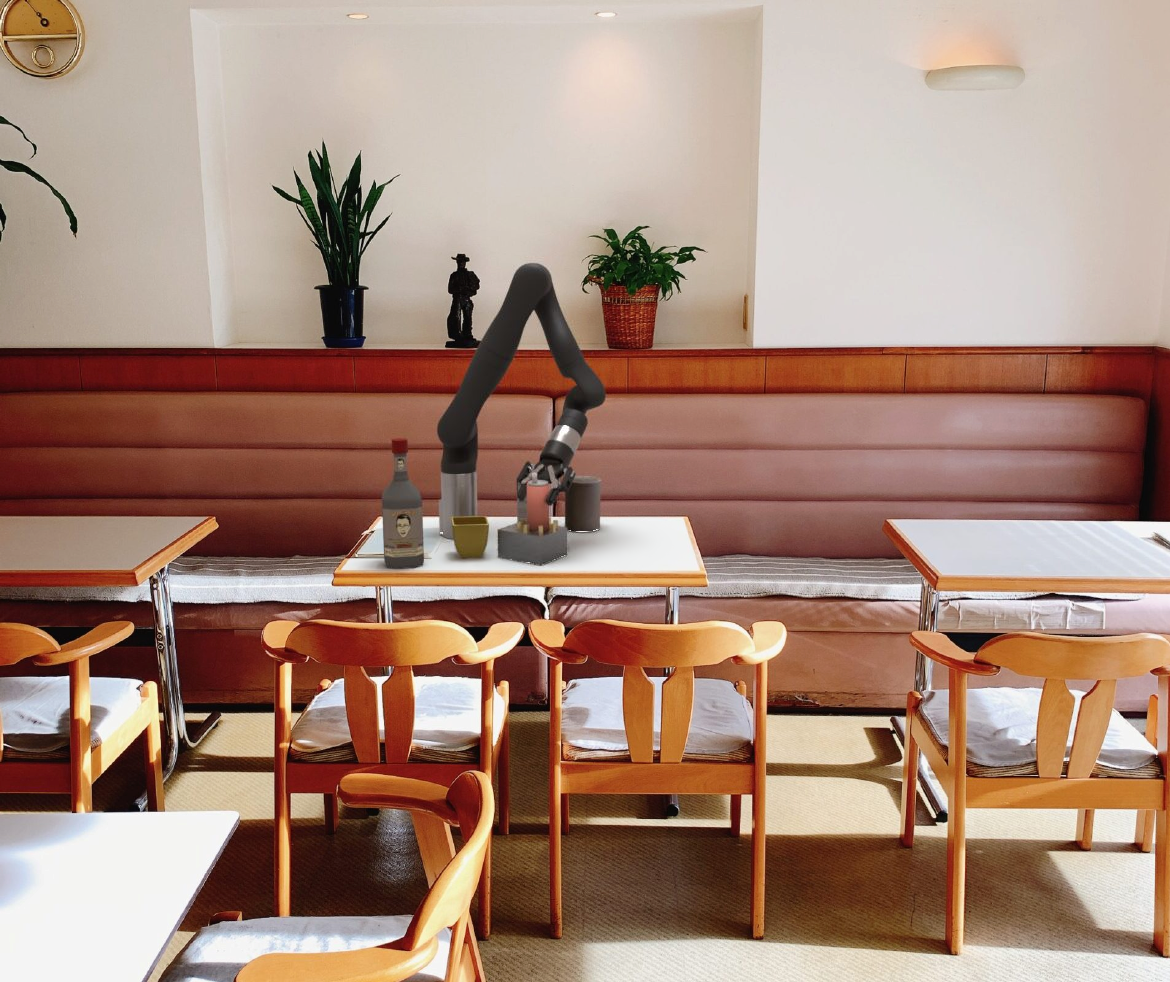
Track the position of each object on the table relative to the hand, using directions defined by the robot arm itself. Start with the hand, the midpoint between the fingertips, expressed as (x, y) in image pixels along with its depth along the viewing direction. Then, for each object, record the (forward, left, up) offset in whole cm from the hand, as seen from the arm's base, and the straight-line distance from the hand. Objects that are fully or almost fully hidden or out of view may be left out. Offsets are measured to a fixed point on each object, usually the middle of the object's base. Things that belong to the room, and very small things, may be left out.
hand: (533, 501), depth 251 cm
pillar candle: (-6, +31, -14) cm, 35 cm away
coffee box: (-14, +19, -14) cm, 28 cm away
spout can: (0, +2, -7) cm, 7 cm away
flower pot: (-14, -7, -14) cm, 21 cm away
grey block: (-3, +1, -14) cm, 15 cm away
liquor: (-23, -21, -14) cm, 34 cm away
